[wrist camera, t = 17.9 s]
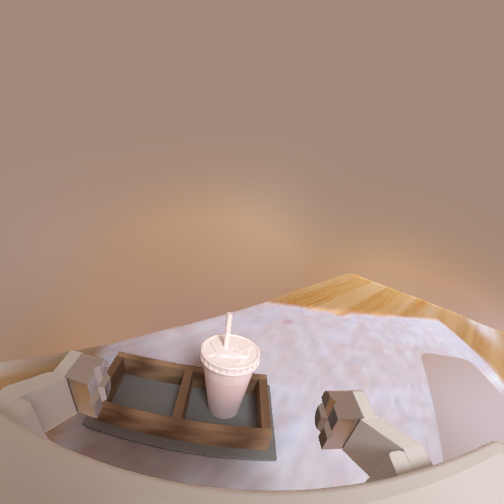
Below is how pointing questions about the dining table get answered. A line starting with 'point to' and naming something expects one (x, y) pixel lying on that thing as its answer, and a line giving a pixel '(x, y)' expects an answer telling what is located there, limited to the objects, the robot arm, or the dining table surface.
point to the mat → (163, 403)
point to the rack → (184, 406)
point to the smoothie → (228, 370)
